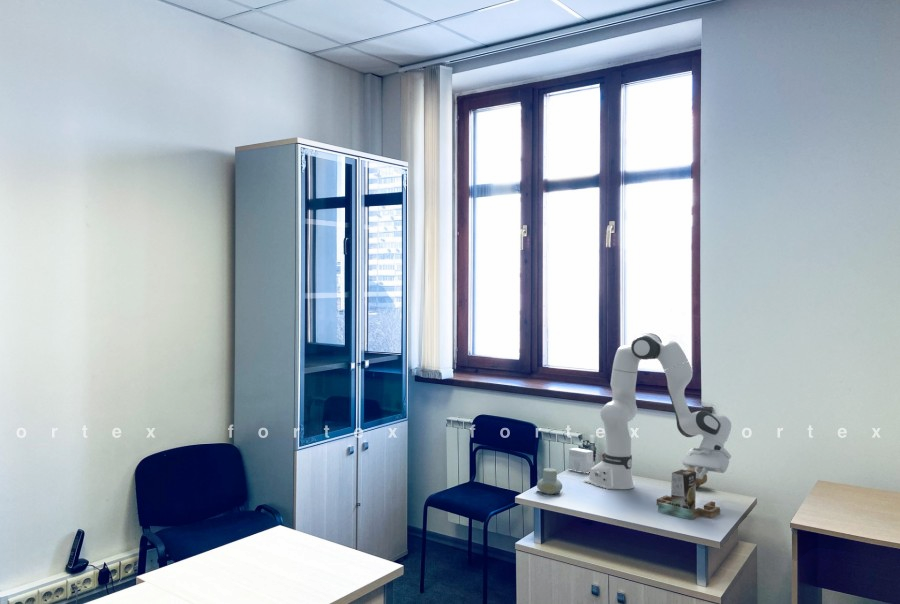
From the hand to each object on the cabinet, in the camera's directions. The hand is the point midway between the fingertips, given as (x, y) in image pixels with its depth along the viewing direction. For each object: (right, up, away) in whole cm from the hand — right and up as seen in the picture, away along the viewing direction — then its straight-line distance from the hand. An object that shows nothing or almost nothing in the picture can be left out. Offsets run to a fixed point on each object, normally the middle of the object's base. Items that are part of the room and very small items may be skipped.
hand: (697, 477), depth 284 cm
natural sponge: (+8, -11, +24) cm, 28 cm away
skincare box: (-39, -10, +51) cm, 65 cm away
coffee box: (-10, -11, -13) cm, 19 cm away
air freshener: (-60, -10, +12) cm, 62 cm away
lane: (-8, -11, -9) cm, 16 cm away
